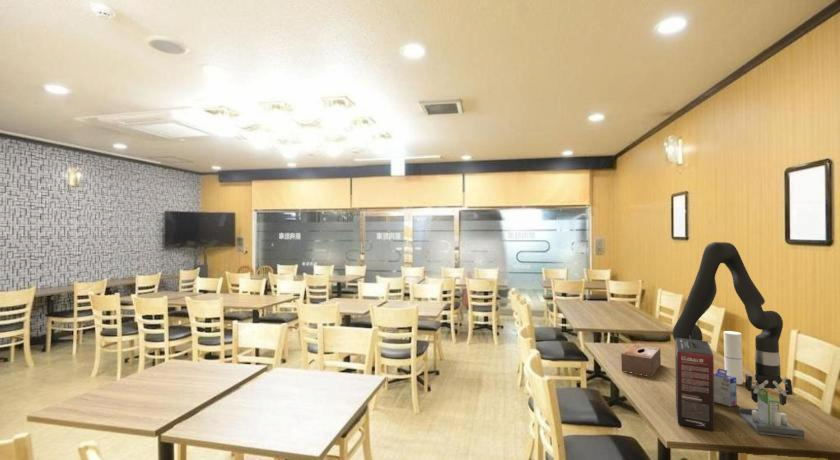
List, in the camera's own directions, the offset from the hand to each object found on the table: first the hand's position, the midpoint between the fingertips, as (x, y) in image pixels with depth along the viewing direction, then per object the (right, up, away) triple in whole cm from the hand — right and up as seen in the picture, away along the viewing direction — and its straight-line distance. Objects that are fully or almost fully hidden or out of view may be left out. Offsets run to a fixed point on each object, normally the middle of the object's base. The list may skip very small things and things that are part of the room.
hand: (768, 403), depth 159 cm
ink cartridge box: (-1, -10, +23) cm, 25 cm away
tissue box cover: (-11, -11, +70) cm, 72 cm away
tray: (0, -9, 0) cm, 9 cm away
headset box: (-23, -10, +9) cm, 27 cm away
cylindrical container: (+23, -10, +47) cm, 53 cm away
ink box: (0, -8, 0) cm, 8 cm away
